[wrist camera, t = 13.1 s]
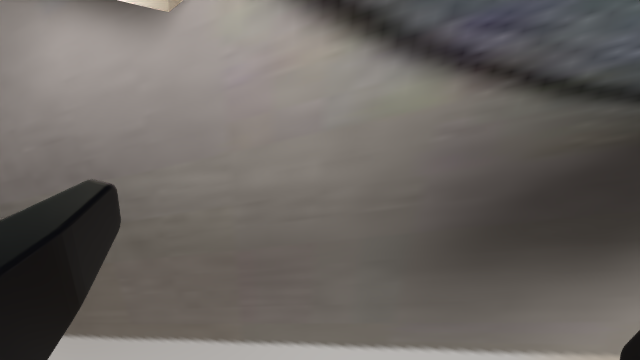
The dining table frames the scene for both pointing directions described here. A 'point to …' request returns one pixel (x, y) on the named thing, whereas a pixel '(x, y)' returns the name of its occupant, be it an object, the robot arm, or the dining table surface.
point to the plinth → (156, 4)
